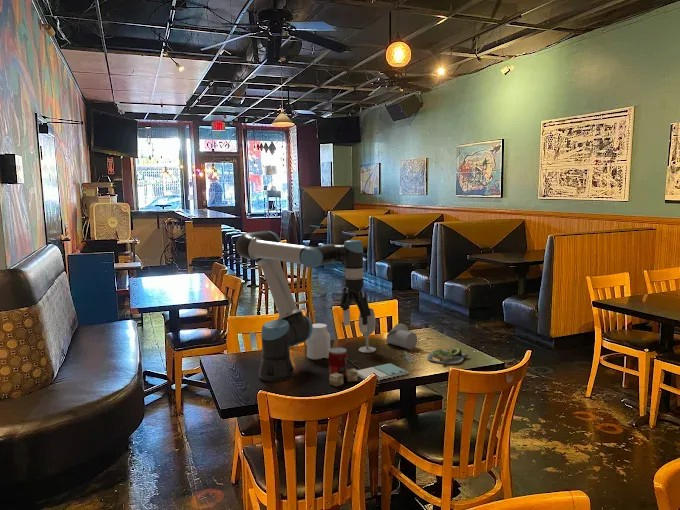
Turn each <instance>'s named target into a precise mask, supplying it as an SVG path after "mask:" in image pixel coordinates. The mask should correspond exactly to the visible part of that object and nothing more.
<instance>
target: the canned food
mask: <svg viewBox="0 0 680 510" xmlns="http://www.w3.org/2000/svg"><path fill="white" fill-rule="evenodd" d="M346 369H348V352H347V349H346V348H345V347H339V346H336V347H330V349H329V358H328V373H329V375H331V374H333V373H336V372H337V373H339V374H342V375H343V378H344V377H346Z"/></svg>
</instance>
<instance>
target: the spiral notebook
mask: <svg viewBox="0 0 680 510" xmlns="http://www.w3.org/2000/svg"><path fill="white" fill-rule="evenodd" d="M356 370H357V378H360V379H362V380H363V381H365V380H364V379H365V378H366V377H368V376H369V375H371V374H373V373H375V374H376V375H377V379H378V382H381V381H380V380H383V379H387V380H389V379H388V378H391V379H394V378H393V377H395V378H398V377H397V376H399V377H403V376H406V375H410V373H409V371H407V370H406V369H404V368H401V367H399V366H397V365H395V364H393V363H391V362H389V363H385V364H380V365H376V366H372V367H366V368H363V369H356ZM402 375H403V376H402ZM383 381H384V380H383Z"/></svg>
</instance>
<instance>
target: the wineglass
mask: <svg viewBox="0 0 680 510" xmlns="http://www.w3.org/2000/svg"><path fill="white" fill-rule="evenodd" d="M369 310H370V313H371V315H370V316H368V317H367V332H365V333H361V327H360V317H361V313H360V312H359V316H358V328H359V332H360V333H361V334H362V335H363V336H364V337H365V346H360V347H359V348H358V350H357V351H358V352H359V353H360V352H361V353H362V354H371V353H375V352H376V350H377V348H376V347H373V346H370V345H369V342H370V341H369V336H371V334H373V333H374V331H375V330H376V329H375V327H376V314H375V311H374V308H370V307H369ZM367 313H368V312H367ZM363 314H364V313H363Z"/></svg>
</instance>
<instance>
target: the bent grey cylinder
mask: <svg viewBox="0 0 680 510" xmlns="http://www.w3.org/2000/svg"><path fill="white" fill-rule="evenodd" d="M385 342H386V343H387V344H390V345H393V346H397V347H400V348H403V349H408V350H413V349H414V348H415V347H416V346H417V344H418V343H417V342H418V337H417V334H416V333H414V332H411V331H410V330H409V328H408V326H407V325H406V324H404V323H403V322H402V323H401V322H400V323H396V324H395V325H394V327H393V328H392V329H390V330H389V332H388V333H387V334H386V339H385Z"/></svg>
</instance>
